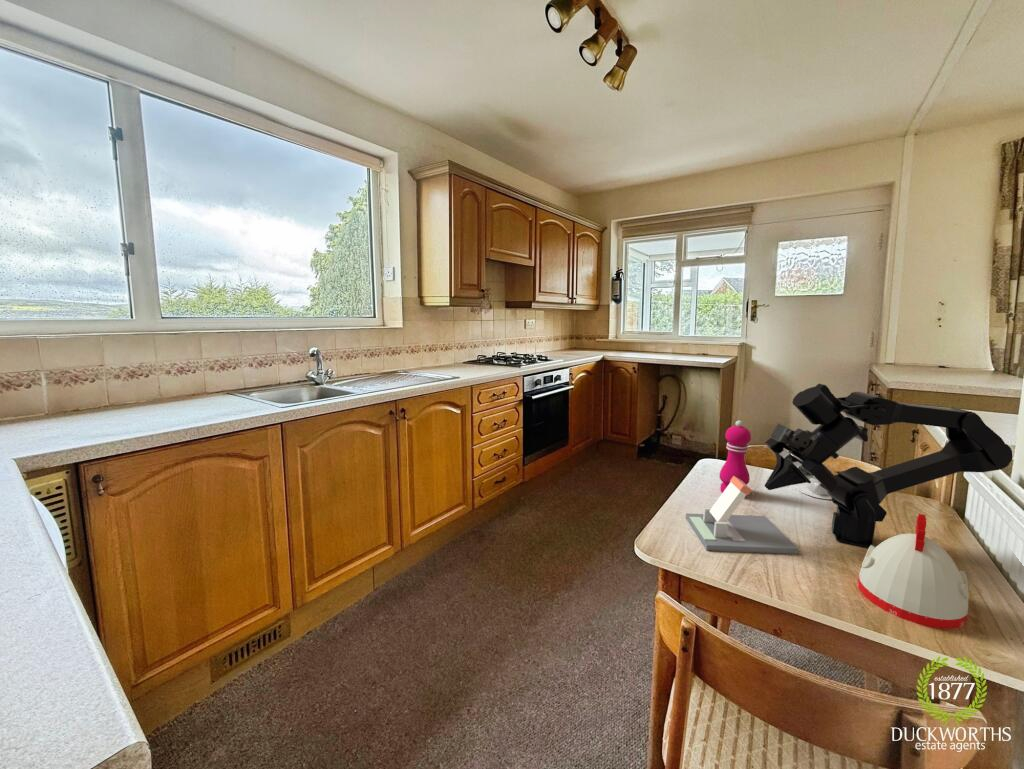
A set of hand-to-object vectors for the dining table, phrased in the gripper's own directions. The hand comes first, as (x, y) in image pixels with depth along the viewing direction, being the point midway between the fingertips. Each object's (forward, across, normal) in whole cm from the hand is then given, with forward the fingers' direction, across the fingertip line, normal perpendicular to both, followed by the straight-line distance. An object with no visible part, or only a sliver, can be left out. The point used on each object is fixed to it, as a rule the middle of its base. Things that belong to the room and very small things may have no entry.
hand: (766, 487), depth 94 cm
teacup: (-10, -24, +27) cm, 38 cm away
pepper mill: (+6, -23, +10) cm, 26 cm away
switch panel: (+11, 0, +4) cm, 12 cm away
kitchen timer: (-2, +20, +19) cm, 28 cm away
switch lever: (+13, 0, -2) cm, 13 cm away
